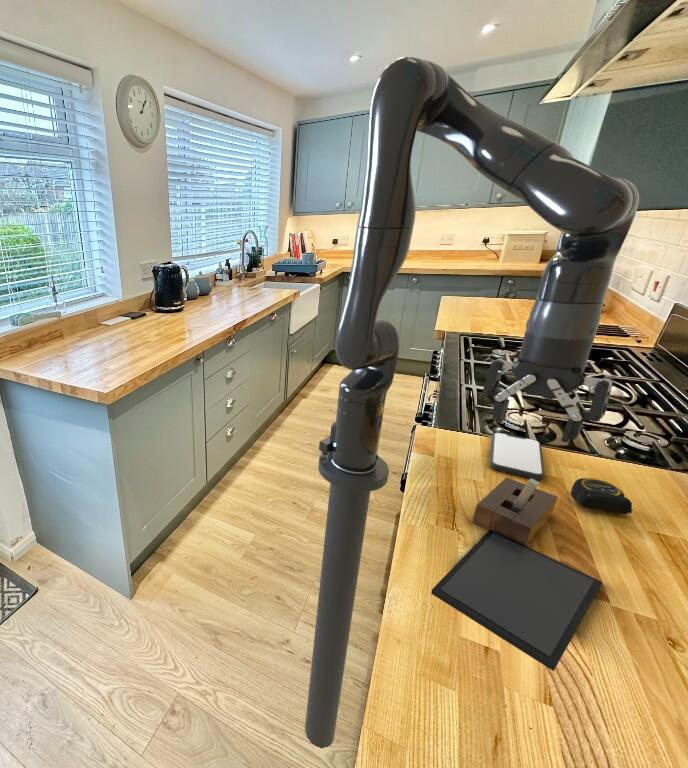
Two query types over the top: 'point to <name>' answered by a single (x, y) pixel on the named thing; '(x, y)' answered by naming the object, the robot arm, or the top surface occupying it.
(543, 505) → the pen stand
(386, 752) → the top surface
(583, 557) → the top surface
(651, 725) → the top surface
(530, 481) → the grey square rod
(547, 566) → the tablet
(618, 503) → the tape measure
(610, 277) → the robot arm
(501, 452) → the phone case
